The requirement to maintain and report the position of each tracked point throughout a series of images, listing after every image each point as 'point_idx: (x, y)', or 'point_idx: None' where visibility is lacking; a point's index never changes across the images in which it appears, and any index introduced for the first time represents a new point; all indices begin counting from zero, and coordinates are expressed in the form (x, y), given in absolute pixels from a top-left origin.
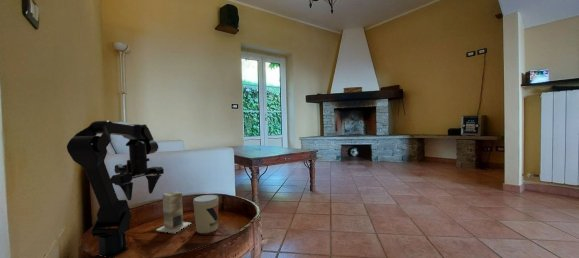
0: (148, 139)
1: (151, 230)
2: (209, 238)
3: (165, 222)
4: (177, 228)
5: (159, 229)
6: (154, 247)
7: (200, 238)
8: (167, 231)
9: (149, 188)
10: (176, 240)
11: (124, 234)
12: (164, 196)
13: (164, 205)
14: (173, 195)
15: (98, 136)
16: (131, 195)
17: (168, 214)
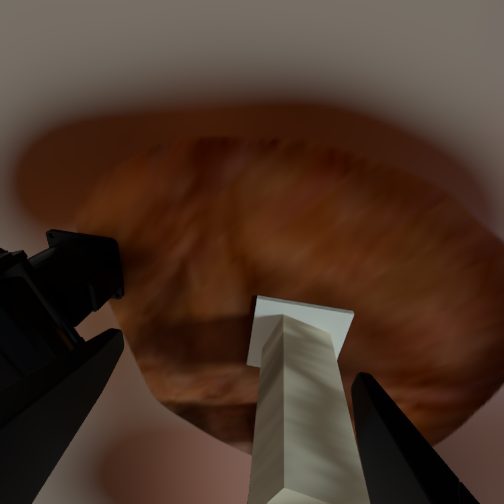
0: None
1: (260, 274)
2: (234, 437)
3: (278, 337)
4: None
5: (260, 309)
6: (157, 353)
7: (230, 423)
8: (250, 341)
9: (375, 433)
10: (207, 382)
11: (93, 310)
12: (273, 480)
13: (276, 411)
14: None
15: None
16: (89, 404)
17: (263, 390)
